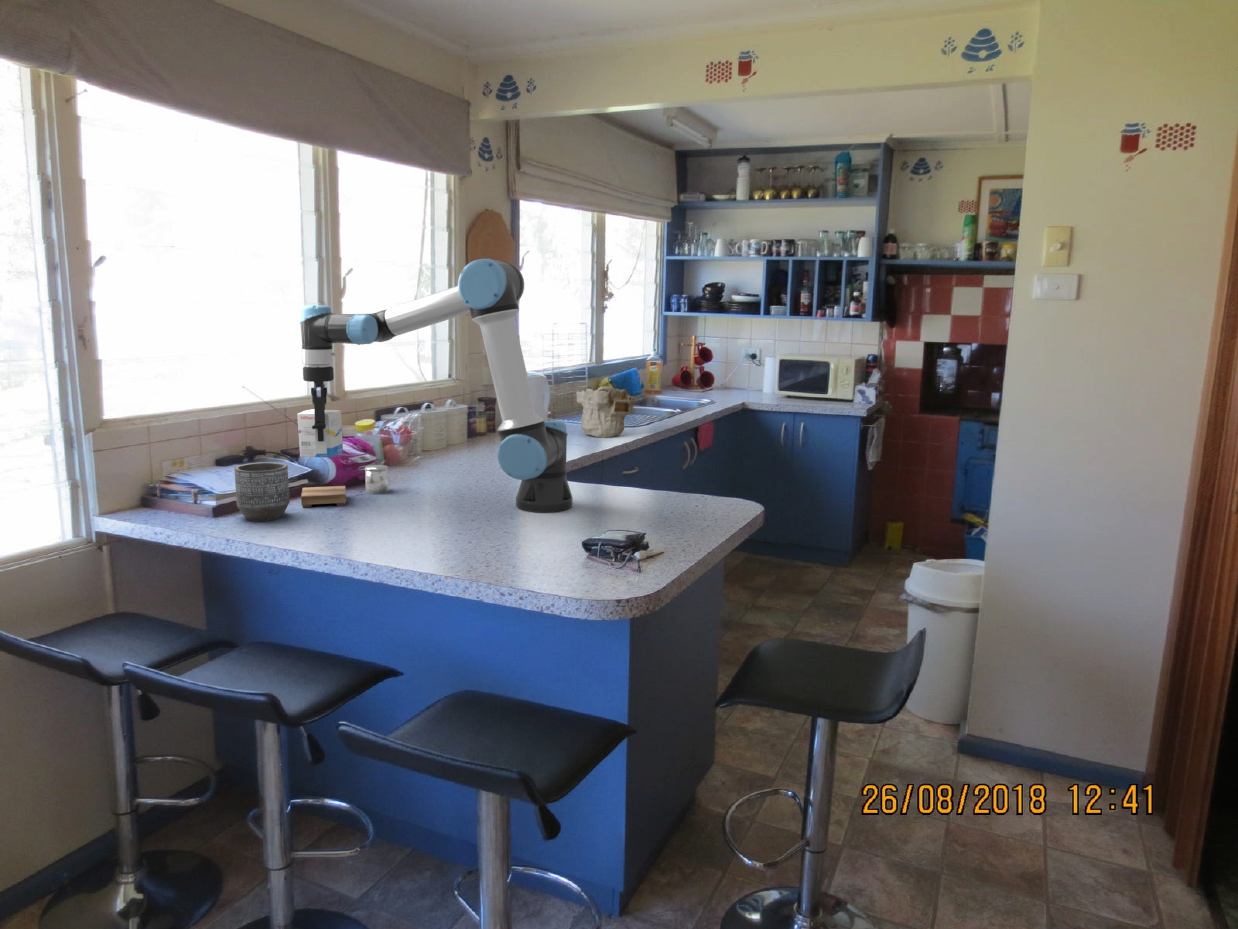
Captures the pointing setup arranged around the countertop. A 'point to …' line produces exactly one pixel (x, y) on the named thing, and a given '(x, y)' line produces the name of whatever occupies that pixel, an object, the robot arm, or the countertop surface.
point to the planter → (262, 490)
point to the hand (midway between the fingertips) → (321, 449)
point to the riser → (323, 495)
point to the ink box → (308, 434)
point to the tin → (376, 479)
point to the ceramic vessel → (604, 410)
